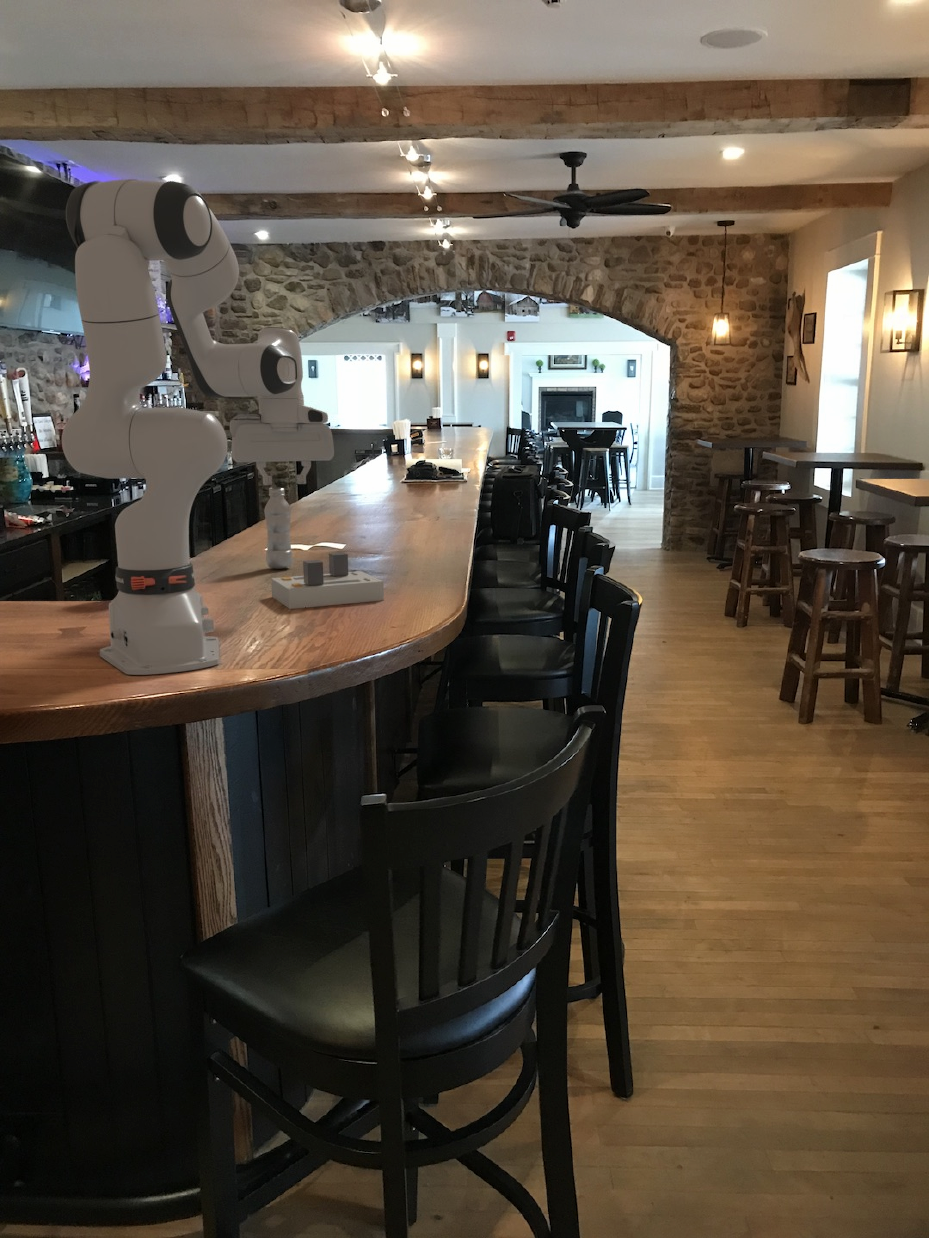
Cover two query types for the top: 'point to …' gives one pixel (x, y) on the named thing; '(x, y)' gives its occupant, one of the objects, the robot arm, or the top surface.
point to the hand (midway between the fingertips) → (284, 484)
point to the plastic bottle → (278, 530)
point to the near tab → (313, 572)
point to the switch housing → (327, 590)
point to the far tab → (338, 564)
